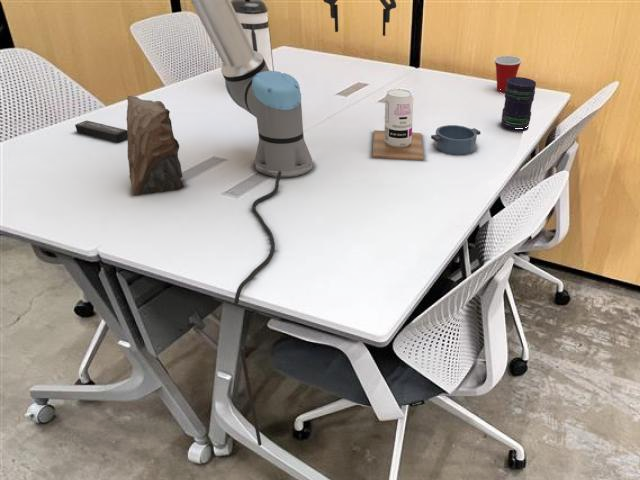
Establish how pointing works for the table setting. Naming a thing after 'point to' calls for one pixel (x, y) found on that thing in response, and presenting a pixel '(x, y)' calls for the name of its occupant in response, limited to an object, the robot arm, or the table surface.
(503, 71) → the plastic cup
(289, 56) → the table surface
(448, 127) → the pot
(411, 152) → the wooden board
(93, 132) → the multiport hub
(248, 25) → the coffee press
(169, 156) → the brown rock
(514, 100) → the storage jar
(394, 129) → the supplement can
